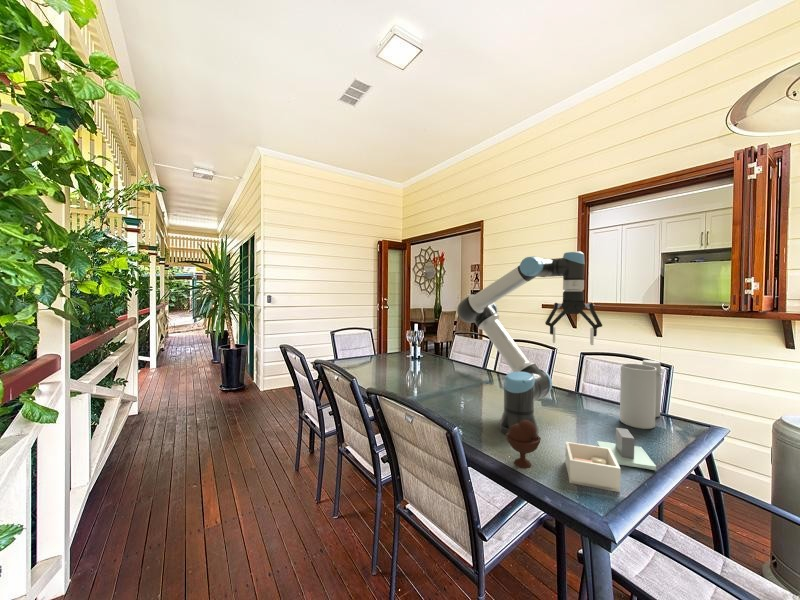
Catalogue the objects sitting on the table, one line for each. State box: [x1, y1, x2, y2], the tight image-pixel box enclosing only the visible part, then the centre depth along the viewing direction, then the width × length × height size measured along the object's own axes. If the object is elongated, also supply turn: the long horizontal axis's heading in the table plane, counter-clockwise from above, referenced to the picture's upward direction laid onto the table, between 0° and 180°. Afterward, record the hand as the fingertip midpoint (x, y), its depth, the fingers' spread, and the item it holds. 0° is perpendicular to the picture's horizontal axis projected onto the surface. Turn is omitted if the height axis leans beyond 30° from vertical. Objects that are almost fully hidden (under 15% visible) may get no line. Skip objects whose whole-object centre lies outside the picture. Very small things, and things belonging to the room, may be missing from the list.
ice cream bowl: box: [505, 420, 542, 469], centre depth 111 cm, size 11×11×15 cm
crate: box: [564, 441, 622, 493], centre depth 104 cm, size 13×13×7 cm
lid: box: [596, 427, 657, 471], centre depth 115 cm, size 14×14×9 cm
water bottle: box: [641, 359, 663, 418], centre depth 154 cm, size 9×8×25 cm
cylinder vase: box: [619, 363, 656, 430], centre depth 144 cm, size 12×12×25 cm
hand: (572, 343), depth 133 cm, fingers open, 13 cm apart
